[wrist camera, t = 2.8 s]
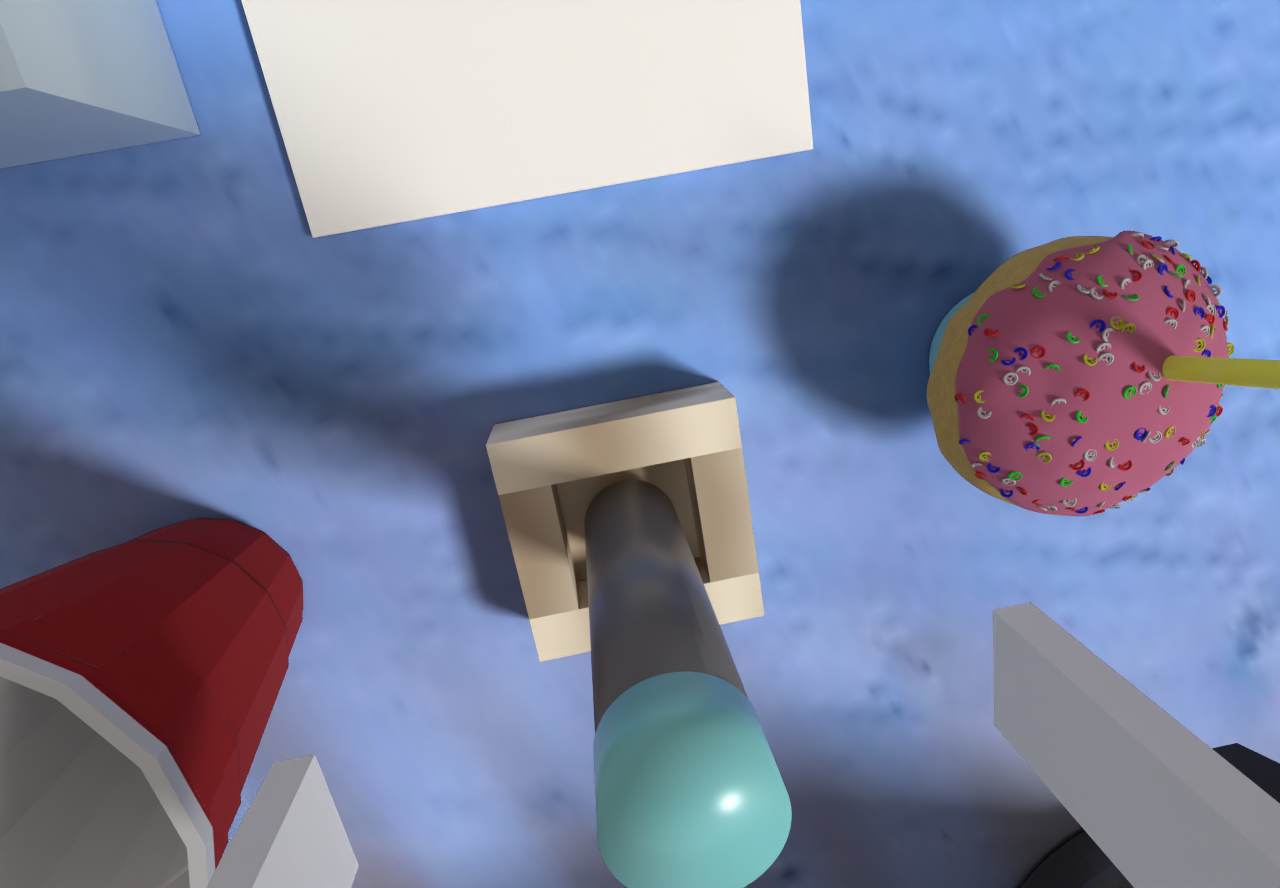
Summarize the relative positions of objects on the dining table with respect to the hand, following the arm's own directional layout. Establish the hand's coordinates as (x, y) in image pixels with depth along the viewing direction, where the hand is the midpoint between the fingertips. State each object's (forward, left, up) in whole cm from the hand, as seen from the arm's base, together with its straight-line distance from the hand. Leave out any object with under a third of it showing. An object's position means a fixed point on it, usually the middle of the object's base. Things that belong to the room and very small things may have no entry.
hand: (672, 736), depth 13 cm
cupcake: (-14, -3, -13) cm, 19 cm away
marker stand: (0, 0, -13) cm, 13 cm away
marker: (0, 0, -12) cm, 12 cm away
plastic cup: (+15, 0, -13) cm, 20 cm away
